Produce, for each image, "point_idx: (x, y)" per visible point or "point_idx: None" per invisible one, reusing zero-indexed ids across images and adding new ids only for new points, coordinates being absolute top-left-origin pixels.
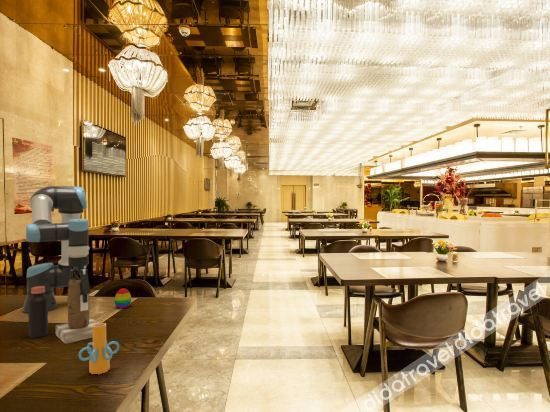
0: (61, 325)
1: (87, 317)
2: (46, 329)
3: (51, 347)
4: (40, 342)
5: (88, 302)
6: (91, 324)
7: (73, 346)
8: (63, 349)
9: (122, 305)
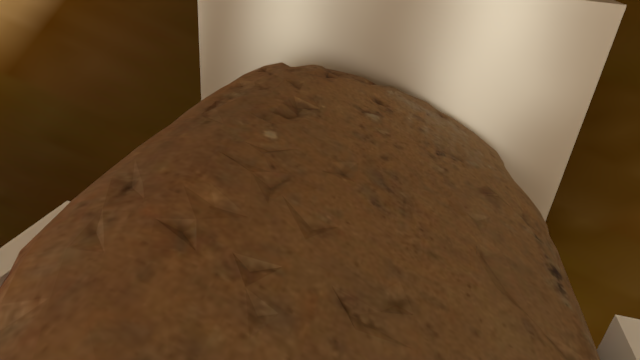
0: None
1: (536, 211)
2: None
3: None
4: None
5: (440, 264)
6: (452, 78)
7: (605, 277)
8: (591, 332)
9: None
